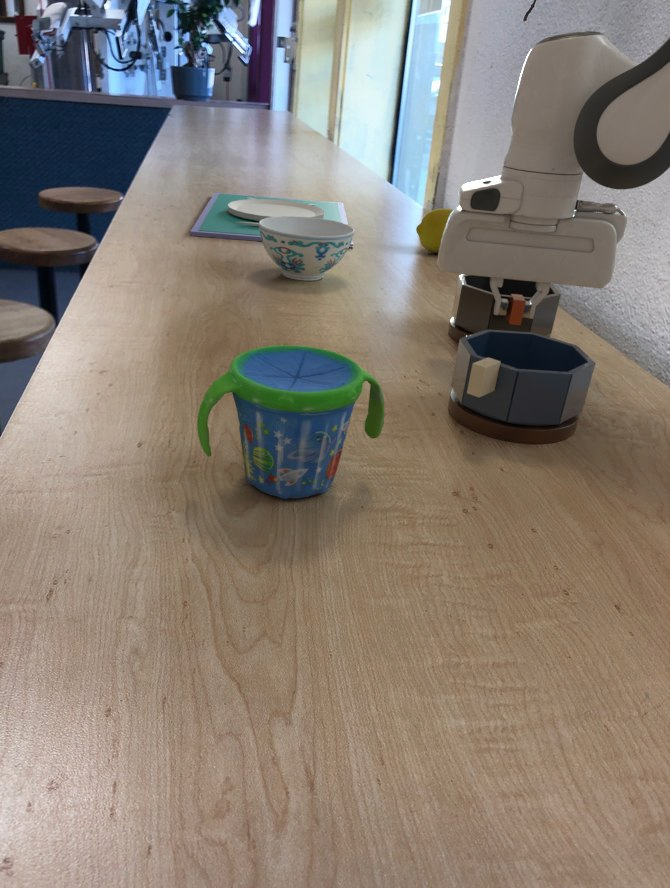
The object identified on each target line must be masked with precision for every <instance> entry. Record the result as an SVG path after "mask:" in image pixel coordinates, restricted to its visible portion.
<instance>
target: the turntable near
mask: <svg viewBox="0 0 670 888" xmlns="http://www.w3.org/2000/svg"><path fill="white" fill-rule="evenodd" d="M447 409H448V412H449V415H450V416H451V417H452V418H453V419H454V420H455V421H456V422H458V423H459V424H460V425H462V426H464V427H465V428H467V429H470V430H472V431H473V432H476V433H479V434H481V435H484V436H486V437H490V438H493V439H497V440H501V441H506V442H512V443H519V444H520V443H521V444H534V445H535V444H540V445H541V444H543V445H544V444H552V443H558V442H562V441H564V440H567V439H569V438H571V437H572V436H573V435H574V434H575V432H576V430H577V427H578V424H579V420H580V413H579V414H577V415H575V416H574V417H572V418H570V419H568V420H567V421H565V422H563V423H561V424H558V425H547V426H529V425H519V424H513V423H507V422H503V421H499V420H495V419H492V418H489V417H486V416H483V415H481V414H479V413H477V412H475V411H473V410H471V409H469V408H468V407H466V406H463V405H462V404H461V403H460V401H459V399H458V398H457V396H456V394H455V392H454V390H453V388H451V390H450V394H449V399H448V405H447Z"/></svg>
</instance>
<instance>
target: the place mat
mask: <svg viewBox="0 0 670 888" xmlns="http://www.w3.org/2000/svg"><path fill="white" fill-rule="evenodd" d="M279 216H299V217H312V218H320V219H327V220H332V221H337V222H340V223H344V224H347V225H349V222H348V217H347V214H346V209H345V205H344V203H343V202H337V201H336V202H335V201H324V200H323V201H322V200H311V199H310V200H309V199H298V198H297V199H296V198H285V197H275V196H274V197H273V196H261V195H247V194H236V193H235V194H234V193H226V192H225V193H222V192H214V193H213V194H212V196H211V197H210V199H209V200H208V203H206V206H205V207H204V209H203V210H202V211H201V213H200V215H199V217H198V218H197V220H196V221H195V223H194V225H193V227H192V228H191V229H190V231H189V232H190V235H189V236H190V237H191V236H192V237H201V238H213V239H215V238H216V239H228V240H240V241H253V242H254V241H255V242H262V239H261V235H260V230H259V221H260V220H262V219H265V218H270V217H279ZM350 246H353V247H354V242H353V240H352V241H351V244H350Z"/></svg>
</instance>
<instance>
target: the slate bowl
mask: <svg viewBox="0 0 670 888" xmlns="http://www.w3.org/2000/svg"><path fill="white" fill-rule="evenodd" d="M595 366H596V362H595V361H594V360H593V359H592V358H591V357H590V356H589V355H588V354H587V353H586V352H585V351H584V350H583V349H582V348H581V347H580V346H579V345H577V344H573V343H570V342H567V341H563V340H560V339H557V338H552V337H551V336H550V337H547V336H543V335H540V334H537V333H532V332H519V331H503V330H483V331H480V332H477V333H474V334H471V335H468V336H465V337H462V338H460V340H459V342H458V347H457V352H456V356H455V363H454V368H453V374H452V377H451V378H452V379H451V384H450V386H451V389H453V390H454V392H455V394H456V396H457V398H458V399H459V401H460V403H461V404H462V405H463V406H466V407H468V408H469V409H471V410H473V411H475V412H477V413H479V414H481V415H483V416H486V417H489V418H492V419H495V420H499V421H503V422H507V423H513V424H519V425H529V426H547V425H558V424H561V423H563V422H565V421H567V420H568V419H570V418H572V417H574V416H575V415H577V414H579V415H580V414H581V413H582V412H583V409H584V407H585V403H586V399H587V395H588V391H589V388H590V385H591V381H592V377H593V374H594V370H595Z"/></svg>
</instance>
